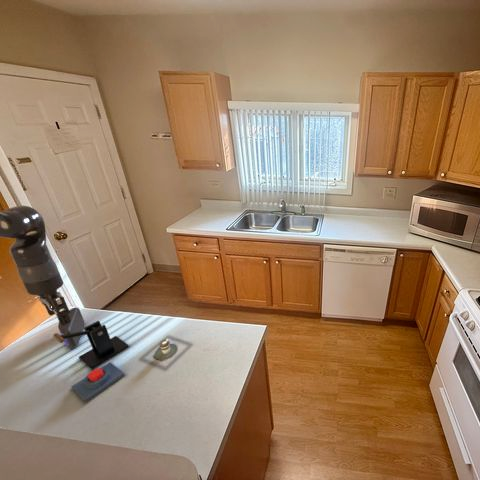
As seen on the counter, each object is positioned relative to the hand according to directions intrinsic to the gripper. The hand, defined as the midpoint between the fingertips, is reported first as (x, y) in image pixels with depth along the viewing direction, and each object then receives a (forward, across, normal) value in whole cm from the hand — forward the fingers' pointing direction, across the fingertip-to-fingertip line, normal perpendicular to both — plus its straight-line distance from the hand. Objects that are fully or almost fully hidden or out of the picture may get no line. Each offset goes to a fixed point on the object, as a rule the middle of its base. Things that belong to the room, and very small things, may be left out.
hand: (60, 318), depth 80 cm
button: (+20, +11, 0) cm, 23 cm away
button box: (+22, +11, 0) cm, 25 cm away
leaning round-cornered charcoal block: (+23, -19, +6) cm, 31 cm away
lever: (+11, -1, +3) cm, 11 cm away
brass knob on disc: (+22, +18, +20) cm, 35 cm away
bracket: (+22, -1, +7) cm, 24 cm away
